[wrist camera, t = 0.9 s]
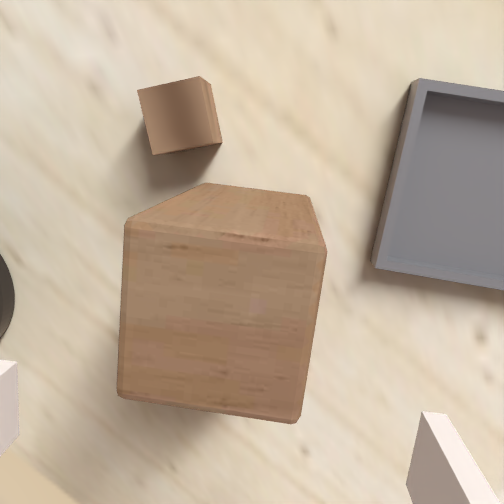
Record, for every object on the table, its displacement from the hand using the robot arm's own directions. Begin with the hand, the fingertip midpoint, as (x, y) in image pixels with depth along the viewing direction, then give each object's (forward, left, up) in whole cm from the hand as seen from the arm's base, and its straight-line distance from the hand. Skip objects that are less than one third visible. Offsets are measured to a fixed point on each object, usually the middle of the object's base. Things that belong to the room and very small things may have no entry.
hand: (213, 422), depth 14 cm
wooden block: (-1, 0, -28) cm, 28 cm away
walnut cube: (-8, +10, -28) cm, 31 cm away
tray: (+18, +8, -28) cm, 34 cm away
